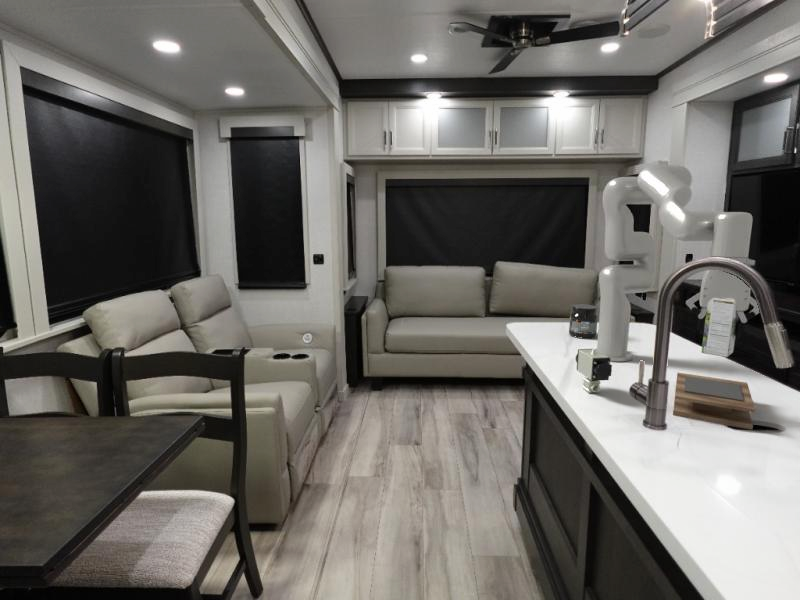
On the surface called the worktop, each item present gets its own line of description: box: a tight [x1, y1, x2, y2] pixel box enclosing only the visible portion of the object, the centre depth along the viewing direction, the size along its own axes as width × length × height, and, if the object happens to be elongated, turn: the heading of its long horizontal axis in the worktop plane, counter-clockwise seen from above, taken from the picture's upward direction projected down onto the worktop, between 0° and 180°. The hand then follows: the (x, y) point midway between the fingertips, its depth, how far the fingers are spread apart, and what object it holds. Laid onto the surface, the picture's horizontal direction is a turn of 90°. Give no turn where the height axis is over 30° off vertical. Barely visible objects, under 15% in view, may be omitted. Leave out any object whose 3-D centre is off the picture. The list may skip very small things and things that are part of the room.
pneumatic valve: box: [575, 348, 613, 394], centre depth 134 cm, size 6×12×12 cm, turn 7°
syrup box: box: [700, 297, 739, 358], centre depth 119 cm, size 6×6×14 cm
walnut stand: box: [672, 371, 756, 431], centre depth 123 cm, size 20×16×5 cm
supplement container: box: [568, 303, 599, 339], centre depth 193 cm, size 10×10×12 cm
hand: (719, 334), depth 120 cm, fingers closed on syrup box, 6 cm apart
